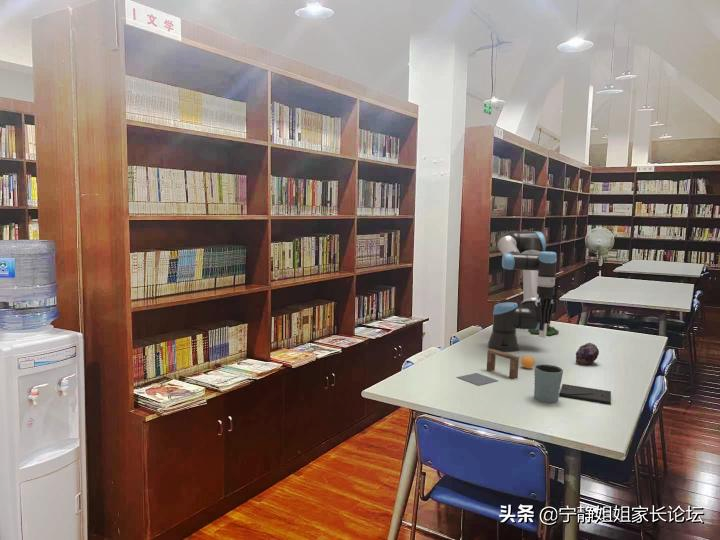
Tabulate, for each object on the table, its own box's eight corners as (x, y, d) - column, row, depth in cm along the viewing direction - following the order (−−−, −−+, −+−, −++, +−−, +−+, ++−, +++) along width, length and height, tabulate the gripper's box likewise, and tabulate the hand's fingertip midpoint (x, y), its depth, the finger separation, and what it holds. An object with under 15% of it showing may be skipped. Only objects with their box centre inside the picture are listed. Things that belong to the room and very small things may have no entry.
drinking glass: (540, 392, 208) (542, 362, 206) (565, 399, 201) (568, 368, 199) (527, 398, 201) (529, 367, 199) (553, 406, 193) (555, 373, 192)
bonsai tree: (517, 325, 333) (520, 274, 330) (559, 329, 324) (563, 277, 320) (510, 336, 301) (514, 281, 298) (556, 341, 292) (560, 284, 288)
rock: (571, 366, 250) (595, 370, 244) (571, 348, 248) (595, 351, 242) (579, 357, 260) (602, 360, 253) (579, 339, 258) (603, 343, 251)
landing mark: (456, 377, 224) (456, 377, 224) (476, 373, 230) (476, 372, 230) (478, 385, 214) (478, 385, 214) (498, 381, 221) (498, 380, 221)
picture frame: (559, 398, 204) (610, 406, 196) (559, 392, 204) (610, 400, 196) (562, 388, 216) (610, 396, 208) (562, 383, 216) (611, 390, 208)
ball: (518, 367, 241) (519, 355, 240) (526, 365, 244) (526, 353, 244) (528, 370, 237) (529, 358, 236) (536, 368, 240) (537, 356, 239)
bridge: (512, 379, 224) (514, 357, 223) (486, 370, 236) (487, 349, 235) (517, 377, 226) (519, 356, 225) (491, 369, 237) (492, 348, 236)
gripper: (543, 287, 235) (540, 340, 237) (561, 286, 242) (558, 337, 245) (529, 285, 241) (526, 337, 243) (547, 284, 248) (544, 334, 251)
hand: (542, 337), depth 244 cm, fingers closed
